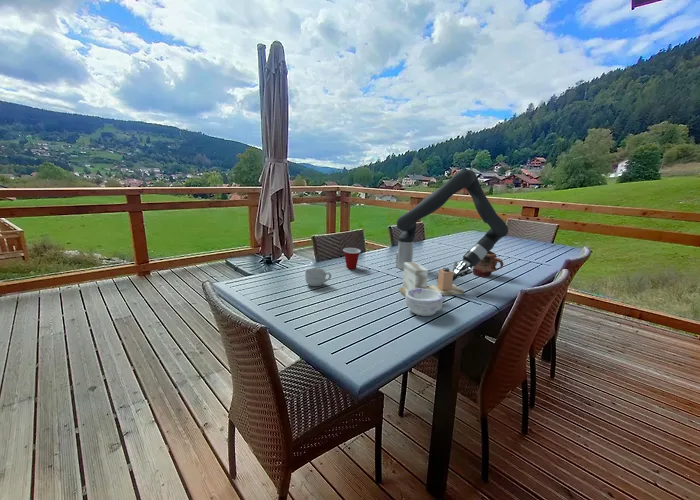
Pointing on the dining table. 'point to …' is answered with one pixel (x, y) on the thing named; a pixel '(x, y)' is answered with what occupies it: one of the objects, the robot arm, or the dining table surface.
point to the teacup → (316, 276)
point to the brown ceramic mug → (487, 265)
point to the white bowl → (423, 301)
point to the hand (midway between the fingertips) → (450, 279)
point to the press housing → (421, 280)
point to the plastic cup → (351, 257)
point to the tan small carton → (445, 279)
